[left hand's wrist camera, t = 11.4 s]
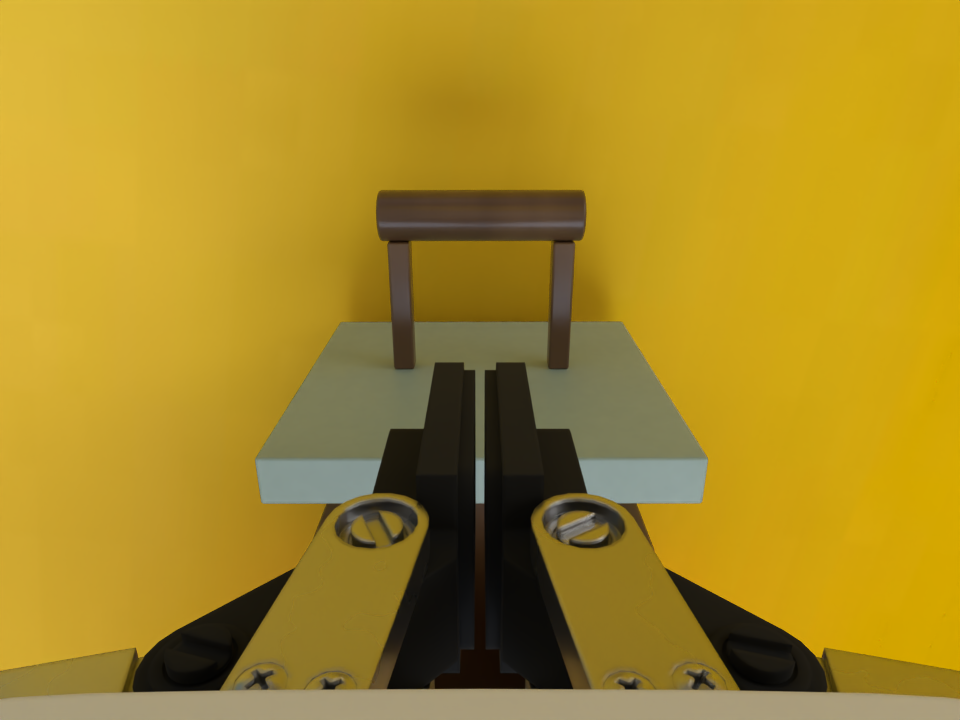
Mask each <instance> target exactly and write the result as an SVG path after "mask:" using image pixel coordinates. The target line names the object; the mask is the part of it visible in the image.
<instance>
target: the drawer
mask: <svg viewBox="0 0 960 720" xmlns="http://www.w3.org/2000/svg"><path fill="white" fill-rule="evenodd" d="M376 220H377V230H378V235H379V238H380V240H382V241H389V242H388V245H387V246H388V264H389V283H390V301H391V320H392V322H341V323H340V324H339V326H338V328H337V329H336V331H335V332H334V334H333V336H332V337H331V339H330V340H329V342H328V343H327V345H326V347H325V348H324V350H323V351H322V353H321V355H320V356H319V358H318V359H317V361H316V363H315V364H314V366H313V367H312V369H311V371H310V372H309V374H308V375H307V377H306V379H305V380H304V382H303V383H302V385H301V387H300V388H299V390H298V391H297V393H296V395H295V396H294V398H293V399H292V401H291V403H290V404H289V406H288V407H287V409H286V411H285V412H284V414H283V415H282V417H281V419H280V420H279V422H278V423H277V425H276V426H275V428H274V430H273V431H272V433H271V434H270V436H269V438H268V439H267V441H266V442H265V444H264V446H263V447H262V449H261V450H260V452H259V454H258V455H257V457H256V459H255V462H256V469H257V476H258V482H259V489H260V496H261V502H262V503H264V504H326V506H325V509H324V512H323V514H322V517H321V519H320V522H319V525H318V527H317V530H316V533H315V535H314V537H315V536H316V534H317V532H318V531H319V529H320V527H321V526H322V524H323V523H324V521H325V519H326V518H327V517H328V515H329V514H330V513H331V512H332V511H333V510H334V509H335V508H336V507H338V506H340V505H341V504H343V503H344V502H346V501H348V500H351V499H354V498H356V497H359V496H363V495H369V494H372V493H373V490H374V486H375V482H376V479H377V475H378V471H379V468H380V464H381V460H382V457H383V453H384V449H385V446H386V442H387V438H388V434H389V431H390V429H424V424H425V418H426V412H427V406H428V400H429V394H430V388H431V383H432V377H433V371H434V365H435V362H464V370H475V410H476V531H475V628H474V649H461V654H460V673H442V674H440V675H439V676H438V677H437V678H435V689H525V678H523V677H522V676H521V675H520V674H518V673H500V654H499V649H486V628H485V532H484V410H485V370H496V362H525V365H526V371H527V377H528V383H529V388H530V394H531V400H532V406H533V412H534V418H535V424H536V429H570V431H571V434H572V438H573V442H574V446H575V449H576V453H577V457H578V460H579V464H580V468H581V471H582V475H583V479H584V482H585V486H586V490H587V493H588V494H591V495H597V496H601V497H604V498H606V499H609V500H612V501H614V502H616V503H617V504H619V505H620V506H622V507H624V508H625V509H626V510H627V511H628V512H629V513H630V514H631V515H632V517H633V518H634V519H635V521H636V523H637V524H638V526H639V527H640V529H641V531H642V532H643V534H644V536H645V537H646V539H647V540H648V542H649V544H650V545H651V547H652V548H653V545H652V543H651V540H650V537H649V535H648V532H647V530H646V527H645V524H644V522H643V519H642V517H641V514H640V511H639V509H638V506H637V503H701V502H702V498H703V491H704V484H705V477H706V470H707V464H708V458H707V456H706V455H705V453H704V451H703V450H702V448H701V447H700V445H699V443H698V442H697V440H696V439H695V437H694V435H693V434H692V432H691V431H690V429H689V428H688V426H687V424H686V423H685V421H684V420H683V418H682V416H681V415H680V413H679V412H678V410H677V408H676V407H675V405H674V404H673V402H672V401H671V399H670V397H669V396H668V394H667V393H666V391H665V389H664V388H663V386H662V385H661V383H660V381H659V380H658V378H657V377H656V375H655V374H654V372H653V370H652V369H651V367H650V366H649V364H648V362H647V361H646V359H645V358H644V356H643V354H642V353H641V351H640V350H639V348H638V347H637V345H636V343H635V342H634V340H633V339H632V337H631V335H630V334H629V332H628V331H627V329H626V327H625V326H624V324H623V323H622V322H571V314H572V295H573V275H574V256H575V243H574V241H580V240H582V239H583V236H584V233H585V226H586V198H585V194H584V191H582V190H381V191H379V193H378V195H377V202H376ZM411 241H551V264H550V290H549V316H548V322H414V299H413V275H412V250H411ZM313 539H314V538H313ZM653 550H654V548H653Z"/></svg>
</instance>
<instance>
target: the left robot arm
mask: <svg viewBox="0 0 960 720" xmlns="http://www.w3.org/2000/svg"><path fill="white" fill-rule="evenodd" d="M475 531H476V410H475V370H464V362H435V365H434V371H433V377H432V383H431V388H430V394H429V400H428V406H427V412H426V418H425V424H424V429H390V431H389V434H388V438H387V442H386V446H385V449H384V453H383V457H382V460H381V464H380V468H379V471H378V475H377V479H376V482H375V486H374V490H373V493H372V494H369V495H363V496H359V497H356V498H354V499H351V500H348V501H346V502H344V503H343V504H341V505H340V506H338V507H336V508H335V509H334V510H333V511H332V512H331V513H330V514H329V515H328V517H327V518H326V519H325V521H324V523H323V524H322V526H321V527H320V529H319V531H318V532H317V534H316V536H315V537H314V539H313V540H312V542H311V544H310V545H309V547H308V548H307V550H306V552H305V553H304V555H303V557H302V558H301V560H300V561H299V563H298V565H297V566H296V568H294V569H292V570H290V571H288V572H286V573H284V574H282V575H280V576H279V577H277V578H275V579H273V580H271V581H269V582H267V583H265V584H263V585H261V586H260V587H258V588H256V589H254V590H252V591H250V592H248V593H246V594H244V595H242V596H241V597H239V598H237V599H235V600H233V601H231V602H229V603H227V604H225V605H224V606H222V607H220V608H218V609H216V610H214V611H212V612H210V613H208V614H206V615H205V616H203V617H201V618H199V619H197V620H195V621H193V622H191V623H189V624H187V625H186V626H184V627H182V628H180V629H178V630H176V631H175V632H173V633H172V634H170V635H168V636H167V637H165V638H164V639H162V640H161V641H159V642H158V643H157V644H156V645H155V646H154V647H153V648H152V649H151V650H150V651H149V652H148V653H147V654H146V655H145V656H144V657H141V658H138V655H137V651H136V648H131V649H125V650H119V651H114V652H108V653H102V654H96V655H90V656H85V657H79V658H73V659H67V660H61V661H56V662H50V663H44V664H38V665H32V666H26V667H21V668H15V669H9V670H3V671H0V720H960V671H957V670H951V669H945V668H939V667H934V666H928V665H922V664H916V663H910V662H904V661H899V660H893V659H887V658H881V657H875V656H870V655H864V654H858V653H852V652H846V651H841V650H835V649H829V648H824V651H823V655H822V658H819V657H816V656H815V655H814V654H813V653H812V652H811V651H810V650H809V649H808V648H807V647H806V646H805V645H804V644H803V643H802V642H801V641H799V640H798V639H796V638H795V637H793V636H792V635H790V634H788V633H787V632H785V631H784V630H782V629H780V628H778V627H776V626H774V625H773V624H771V623H769V622H767V621H765V620H763V619H761V618H759V617H757V616H755V615H754V614H752V613H750V612H748V611H746V610H744V609H742V608H740V607H738V606H736V605H735V604H733V603H731V602H729V601H727V600H725V599H723V598H721V597H719V596H718V595H716V594H714V593H712V592H710V591H708V590H706V589H704V588H702V587H700V586H699V585H697V584H695V583H693V582H691V581H689V580H687V579H685V578H683V577H681V576H680V575H678V574H676V573H674V572H672V571H670V570H668V569H666V568H664V566H663V565H662V563H661V561H660V560H659V558H658V557H657V555H656V553H655V552H654V550H653V548H652V547H651V545H650V544H649V542H648V540H647V539H646V537H645V536H644V534H643V532H642V531H641V529H640V527H639V526H638V524H637V523H636V521H635V519H634V518H633V517H632V515H631V514H630V513H629V512H628V511H627V510H626V509H625V508H624V507H622V506H620V505H619V504H617V503H616V502H614V501H612V500H609V499H606V498H604V497H601V496H597V495H591V494H588V493H587V490H586V486H585V482H584V479H583V475H582V471H581V468H580V464H579V460H578V457H577V453H576V449H575V446H574V442H573V438H572V434H571V431H570V429H536V424H535V418H534V412H533V406H532V400H531V394H530V388H529V383H528V377H527V371H526V365H525V362H496V370H485V410H484V532H485V628H486V649H499V654H500V673H518V674H520V675H521V676H522V677H523V678H525V689H435V678H437V677H438V676H439V675H440V674H442V673H460V654H461V649H474V628H475Z"/></svg>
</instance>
